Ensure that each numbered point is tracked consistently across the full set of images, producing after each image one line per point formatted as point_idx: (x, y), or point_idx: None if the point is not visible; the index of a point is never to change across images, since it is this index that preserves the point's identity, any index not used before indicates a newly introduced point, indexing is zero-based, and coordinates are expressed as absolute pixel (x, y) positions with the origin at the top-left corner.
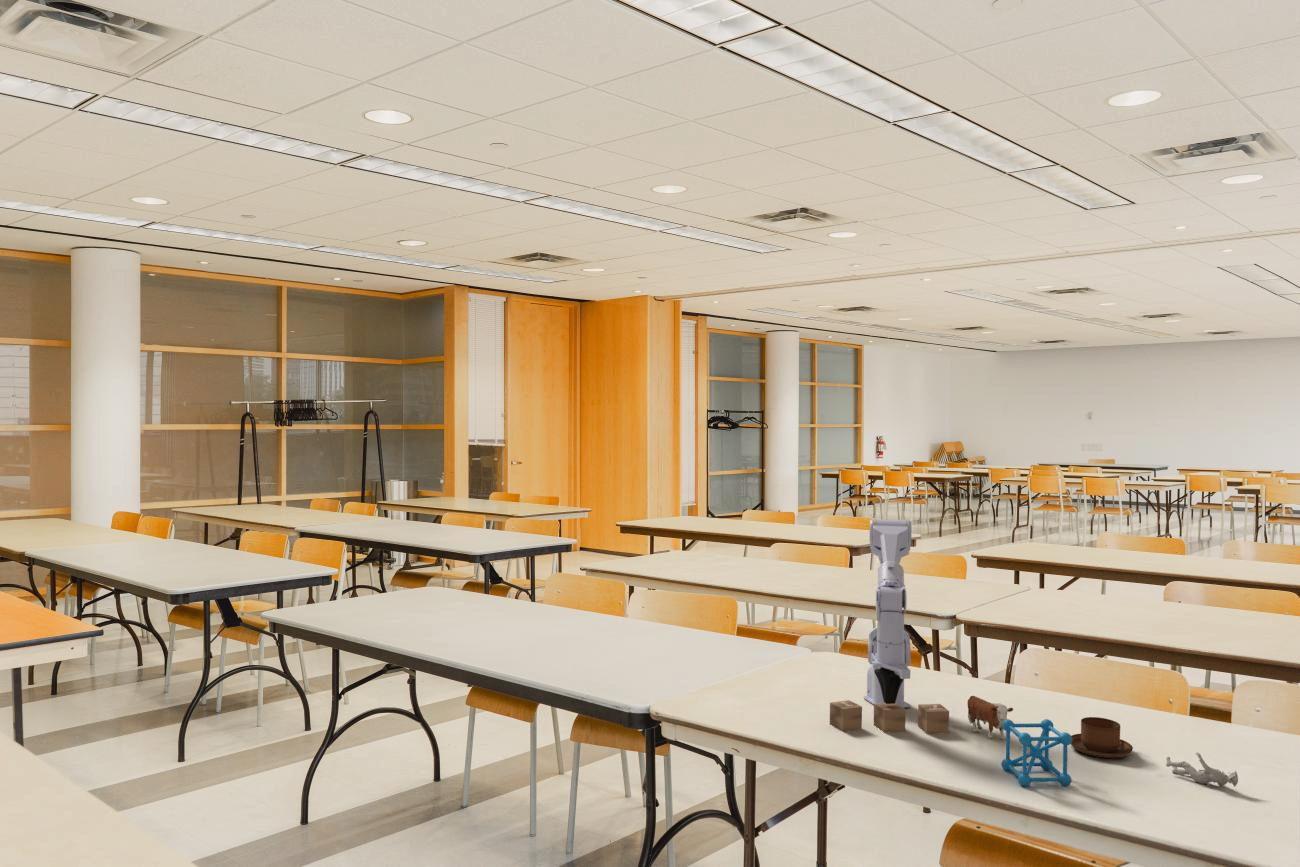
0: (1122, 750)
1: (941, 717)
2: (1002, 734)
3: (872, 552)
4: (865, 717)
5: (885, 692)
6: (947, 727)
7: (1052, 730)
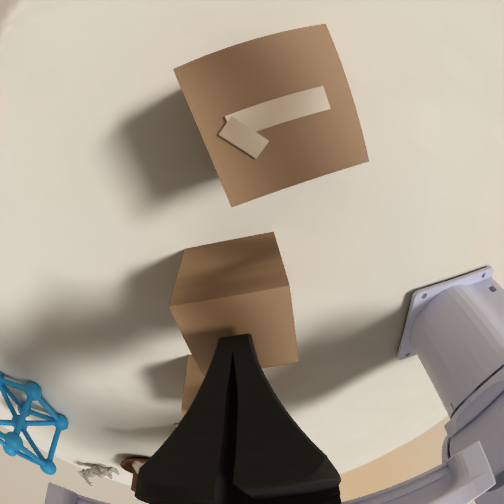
0: None
1: None
2: None
3: None
4: (366, 226)
5: (202, 384)
6: None
7: (29, 458)
